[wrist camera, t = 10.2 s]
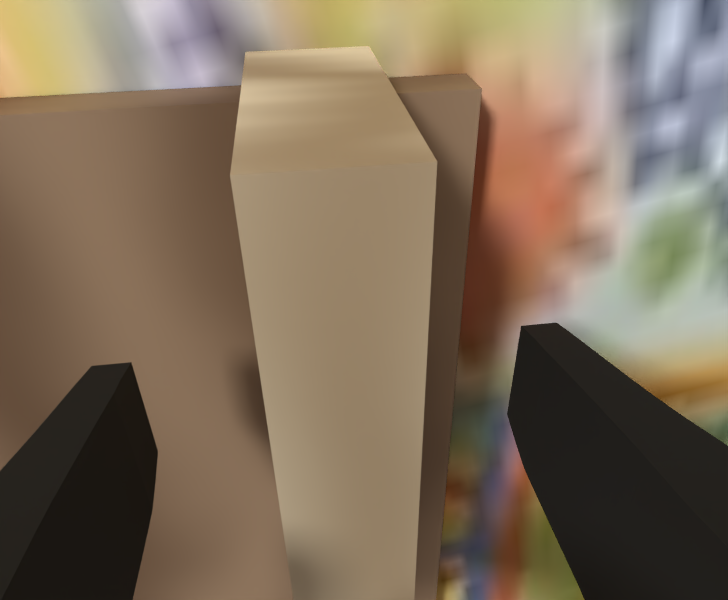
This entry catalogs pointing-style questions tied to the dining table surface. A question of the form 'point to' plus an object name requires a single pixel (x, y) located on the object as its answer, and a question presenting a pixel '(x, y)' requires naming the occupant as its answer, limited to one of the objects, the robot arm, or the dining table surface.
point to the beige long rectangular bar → (338, 309)
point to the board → (190, 311)
